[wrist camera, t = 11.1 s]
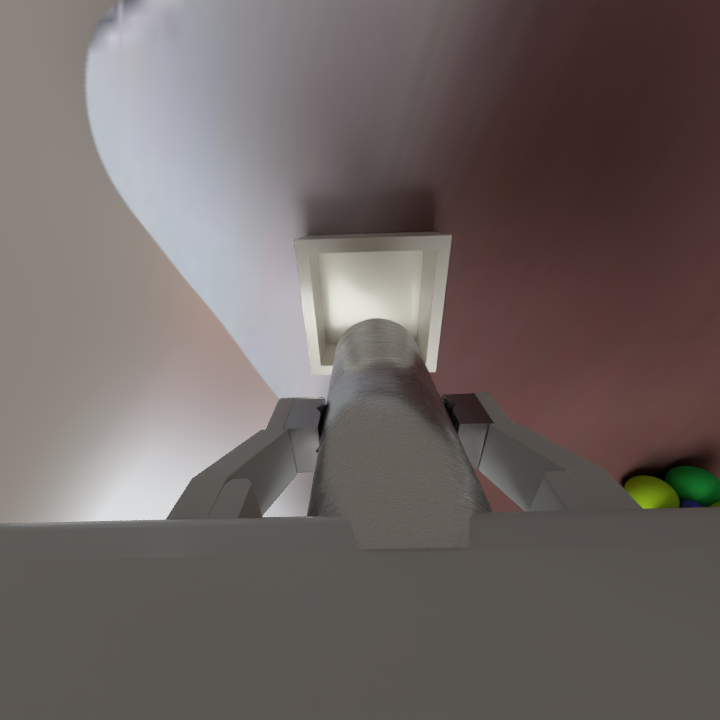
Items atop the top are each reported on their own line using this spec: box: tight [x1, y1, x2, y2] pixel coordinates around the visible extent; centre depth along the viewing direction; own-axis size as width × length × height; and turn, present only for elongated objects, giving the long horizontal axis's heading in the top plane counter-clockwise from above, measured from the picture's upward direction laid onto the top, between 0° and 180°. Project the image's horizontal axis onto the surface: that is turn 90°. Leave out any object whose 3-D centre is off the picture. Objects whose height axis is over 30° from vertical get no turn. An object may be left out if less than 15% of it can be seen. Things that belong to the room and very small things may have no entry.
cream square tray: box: [294, 231, 452, 375], centre depth 21 cm, size 10×10×4 cm
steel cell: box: [307, 318, 493, 550], centre depth 9 cm, size 4×4×10 cm
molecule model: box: [624, 466, 720, 509], centre depth 30 cm, size 9×9×9 cm
